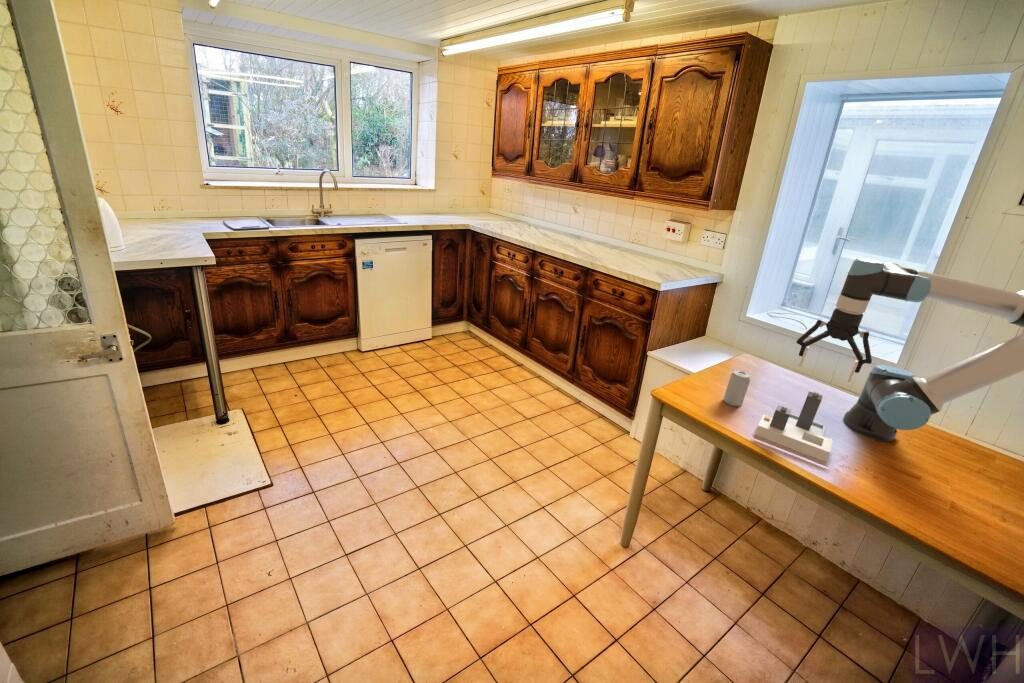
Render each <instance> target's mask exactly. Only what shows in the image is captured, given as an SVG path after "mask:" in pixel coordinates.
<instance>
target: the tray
mask: <svg viewBox="0 0 1024 683" xmlns="http://www.w3.org/2000/svg"><path fill="white" fill-rule="evenodd" d="M799 416H800V415H797V414H793V413H792V412H791V413H790V416H789V418H788V421H787V423H788V424H791V425H794V426H796V423H797V421H798V418H799ZM825 430H826V425H825V424H822V423H819V422H816V421H814V420H813V422H812V425H811V427H810V429H809V431H810V432H813V433H816V434H818V435H821V436H824V433H825Z"/></svg>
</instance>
